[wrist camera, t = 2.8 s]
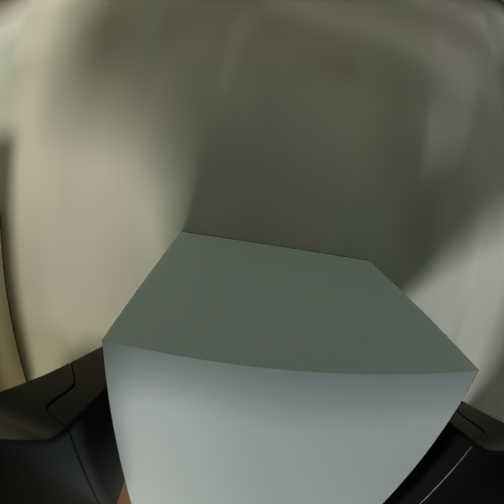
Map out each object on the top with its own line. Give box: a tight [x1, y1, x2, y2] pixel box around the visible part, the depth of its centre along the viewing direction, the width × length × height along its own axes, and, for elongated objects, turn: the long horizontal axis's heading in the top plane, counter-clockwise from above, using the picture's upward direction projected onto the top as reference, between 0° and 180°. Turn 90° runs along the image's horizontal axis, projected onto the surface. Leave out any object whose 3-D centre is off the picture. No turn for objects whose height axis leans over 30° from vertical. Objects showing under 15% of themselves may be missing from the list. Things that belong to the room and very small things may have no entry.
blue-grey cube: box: [102, 232, 479, 504], centre depth 7 cm, size 6×6×6 cm
